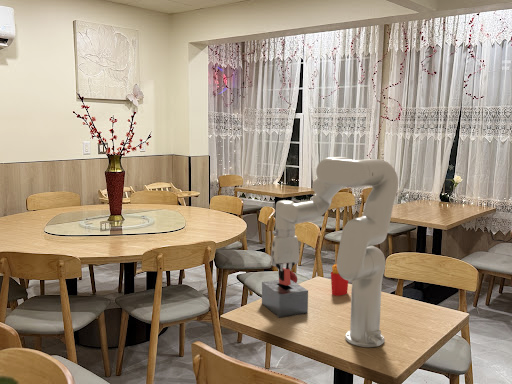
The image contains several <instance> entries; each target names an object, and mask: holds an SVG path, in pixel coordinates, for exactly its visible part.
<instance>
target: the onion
mask: <svg viewBox="0 0 512 384" xmlns="http://www.w3.org/2000/svg"><path fill="white" fill-rule="evenodd" d="M290 280H292V281H294V282H295V283H297V284H298V276H297V275H296V273H295V272H294V271H292V269H291V270H290Z"/></svg>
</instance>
